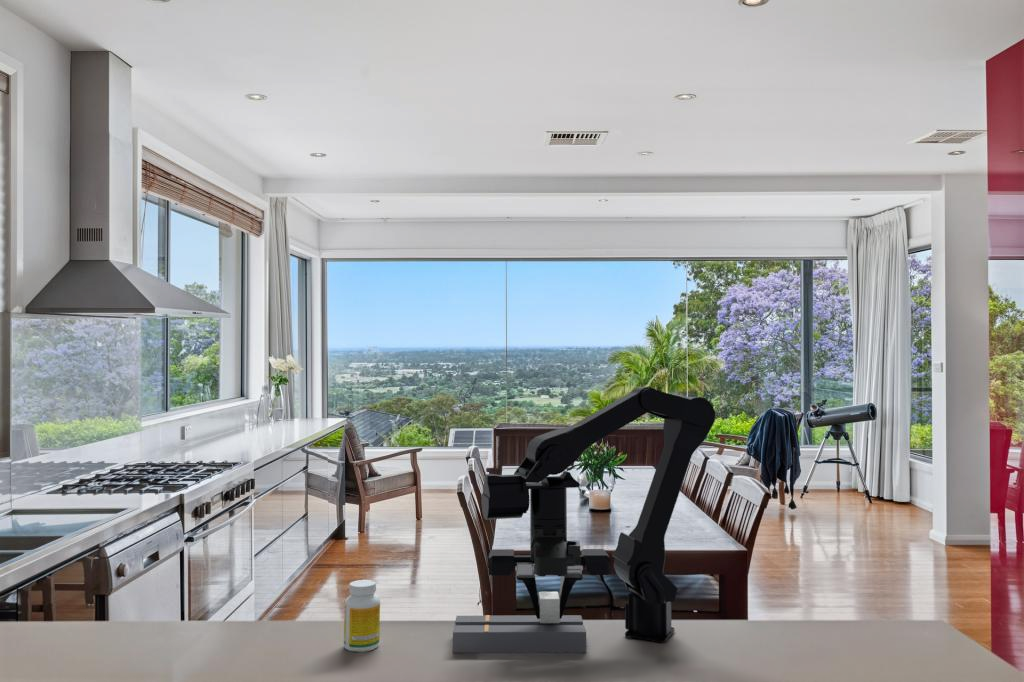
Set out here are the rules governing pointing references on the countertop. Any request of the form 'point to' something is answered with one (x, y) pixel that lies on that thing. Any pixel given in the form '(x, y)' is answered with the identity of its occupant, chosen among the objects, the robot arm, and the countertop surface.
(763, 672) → the countertop surface
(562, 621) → the fader console
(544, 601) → the fader tab
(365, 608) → the supplement bottle
